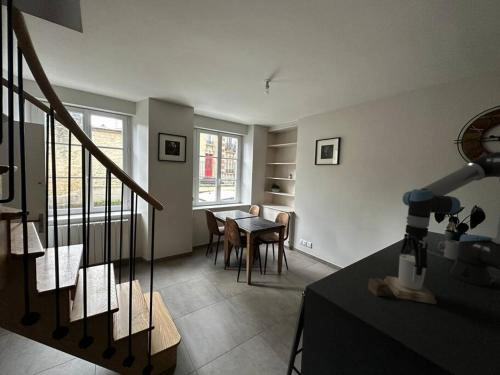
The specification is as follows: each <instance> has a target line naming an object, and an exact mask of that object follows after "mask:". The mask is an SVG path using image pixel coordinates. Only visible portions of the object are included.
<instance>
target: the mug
mask: <svg viewBox="0 0 500 375" xmlns="http://www.w3.org/2000/svg"><path fill="white" fill-rule="evenodd" d="M459 241H460V240H459ZM459 241H457V240H453V239H446V240H445V241H440V242H438V245H437V250H438V251H439V252H442V253H443V257H444V258H445V259H448V260H452V261H456V260H457V254H458V247H459ZM441 245H444V249H441Z"/></svg>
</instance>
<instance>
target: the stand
mask: <svg viewBox="0 0 500 375" xmlns="http://www.w3.org/2000/svg"><path fill="white" fill-rule="evenodd" d="M383 281H384V282H385V283H387V284H388V289H390V291H391V293H393V294H394V296H395V297H396V298H397V299H402V300H408V301H414V302H420V303H426V304H433V305H437V300H436V299H435V295H434V294H433V293H432V292H431V291H430V290H428V289H427V288H426V287H425V286H424V285H422V288H421V289H420V290H413V289H409V288H406V287H404V286H402V285H401V284H400V283H399V282H398V277H396V276H391V275H390V276H388V275H386V278H385V277H384V280H383Z"/></svg>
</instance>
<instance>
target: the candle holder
mask: <svg viewBox="0 0 500 375" xmlns="http://www.w3.org/2000/svg"><path fill="white" fill-rule="evenodd" d="M398 260H399V262H398V277H397V278H398V282H399V283H400V284H401V285H402V286H404V287H406V288H409V289H413V290H420V289H421V288H422V285H423V284H424V280H425V275H426V271H427V268H423V269H422V276H421V283H420V282H413V281H412V279H413V272H414V265H416V262H415V254H414V255H412V254H410V255H409V254H402V253H401V254H399V259H398ZM427 265H428V261H427ZM423 286H424V285H423Z"/></svg>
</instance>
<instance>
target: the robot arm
mask: <svg viewBox="0 0 500 375" xmlns="http://www.w3.org/2000/svg"><path fill="white" fill-rule="evenodd" d="M486 178H499V180H498V181H499V182H500V151H496V152H491V153H488V154H485V155H482V156H479V157H477V158H474V159H472V160H470V161H468V162H466V163H464V164H463V166H462V167H460V168H459V169H457V170H455V171H453V172H451V173H449V174H448V175H445V176H443V177H441V178H440V179H438V180H436V181H433V182H431V183H430V184H427V185H426V186H423V187H422V188H420V189H416V188H414V189H412V190H411V191H409V190H408V191H406V192H404V194H403V195H402V202H403V203H404V206H405V205H406V206H408V210H407V216H406V225H405V233H404V235H403V236H404V237H403V241H402V245H401V248H400V253H401V254H409V255H412V254H411V253H412V252H413V253H414V256H415V262H416V265H414V272H413V279H412V281H413V282H420V283H421V276H422V269H423V268H426V269H427V268H428V264H427V262H428V251H427V250H428V246H429V244H428V243H427V242H424V238H426V237H428V235H429V234H428V233H429V226H430V219H431V213H432V214H444V215H445V214H446V215H449V214H452V215H453V214H456V213H458V212H459V211H460V209H461V205H462V204H461V201H460V199H459V198H457V197H455V196H451V195H448V194H451V193H452V192H454V191H456V190H458V189H460V188H461V187H464V186H466V185H467V184H469V183H472V182H474V181H481V180H482V179H486ZM489 267H490V268H493V269H496V270H498V271H500V216H499V218H498V225H497V233H496V237H491V236H486V235H479V234H478V235H477V234H465V233H464V234H461V235H460V237H459V247H458V254H457V260H455V262H454V263H453V265H452V267H451V268H450V270H449V274H450V275H451V276H452V277H453V278H455V279H457V280H460V281H463V282H464V283H467V284H470V285H471V284H472V285H475V286H480V287H491V286H492V281H493V280H492V277H491V274H490V273H491V272H490V270H489ZM490 285H491V286H490Z"/></svg>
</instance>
